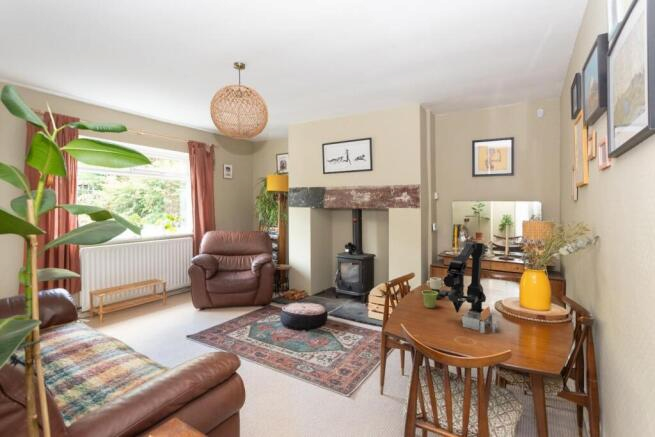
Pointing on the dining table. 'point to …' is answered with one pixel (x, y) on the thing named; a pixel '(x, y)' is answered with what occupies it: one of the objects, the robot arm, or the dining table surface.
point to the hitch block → (478, 322)
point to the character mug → (435, 285)
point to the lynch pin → (487, 323)
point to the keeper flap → (485, 314)
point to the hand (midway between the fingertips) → (457, 312)
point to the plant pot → (429, 298)
